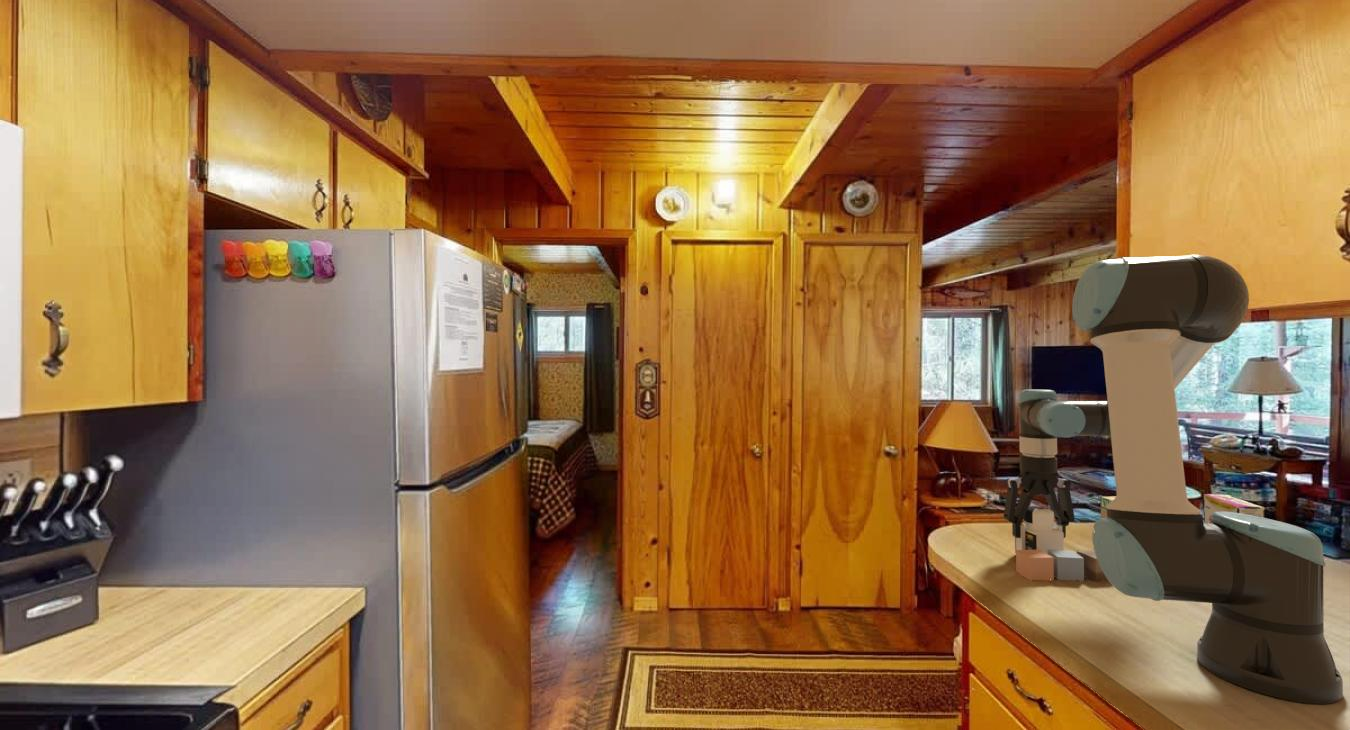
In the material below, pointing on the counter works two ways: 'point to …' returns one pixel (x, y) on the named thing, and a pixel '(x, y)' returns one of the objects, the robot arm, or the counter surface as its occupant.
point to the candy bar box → (1229, 506)
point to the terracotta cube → (1035, 564)
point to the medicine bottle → (1041, 530)
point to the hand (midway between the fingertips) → (1039, 551)
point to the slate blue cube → (1067, 565)
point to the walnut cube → (1092, 565)
